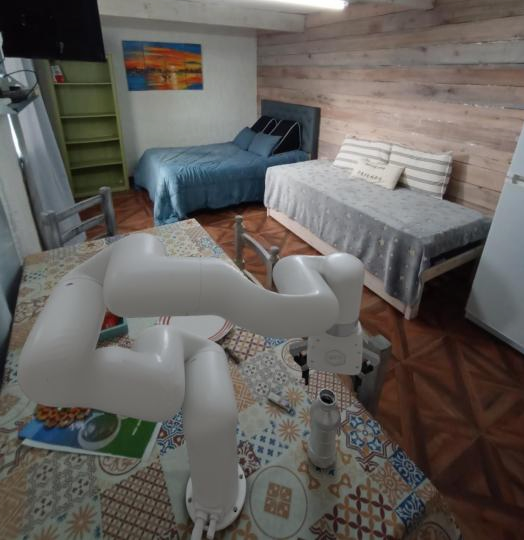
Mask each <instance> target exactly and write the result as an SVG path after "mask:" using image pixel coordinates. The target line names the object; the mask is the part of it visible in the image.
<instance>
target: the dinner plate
mask: <svg viewBox="0 0 524 540" xmlns="http://www.w3.org/2000/svg"><path fill="white" fill-rule="evenodd" d="M156 325H171V326H175V327H178V328H181V329H183V330H186V331H188V332H191V333H194V334H196V335H199V336H201V337H204V338H206V339H209V340H211V341H213V342H215V343H217V342H218V341H219V340H221V339H222V338H224V337H225V336H226V335H227V334H228V333H229V332H230V331H231V330H232V328H233V327H234V326H235V325H234V324H232V323H230V322H228V321H227V320H225V319H223V318H221V317H219V316H214V315H203V316H175V317H157V319H156Z"/></svg>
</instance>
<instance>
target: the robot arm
mask: <svg viewBox="0 0 524 540" xmlns="http://www.w3.org/2000/svg"><path fill="white" fill-rule="evenodd" d="M166 249H167V248H166V246H165V244H164V242H163V241H162V240H161V239H160V238H159V237H158V236H156V235H154V234H152V233H147V232H137V233H132V234H129V235H126V236H124V237H121V238H119V239H117V240H116V241H114V242H113V243H111V244H110V245H108V246H106V247H105V248H103V249H102V250H100V251H99V252H97V253H96V254H94V255H92V256H91V257H90V258H88V259H87V260H85V261H83V262H82V263H80V264H79V265H77V266H75V267H74V268H73V269H71V270H69V272H67V273H66V274H64V276H62V277H61V278H60V279H59V280H58V282H57V283H56V284H55V285H54V287H53V288H52V290H51V292H50V294H49V296H48V298H47V299H46V302H45V303H44V305H43V307H42V309H41V311H40V313H39V314H38V316H37V317H36V320H35V322H34V324H33V325H32V328H31V329H30V331H29V333H28V334H27V338H26V340H25V342H24V345H23V347H22V350H21V353H20V356H19V359H18V363H17V368H16V381H17V385H18V387H19V390H20V391H21V392H22V395H24V396H25V397H26V398H27V399H28V400H30V401H31V402H34V403H35V404H38V405H41V406H44V407H49V408H50V407H51V408H61V409H63V408H65V409H66V408H68V409H69V408H87V409H91V410H92V409H93V410H97V411H102V412H105V413H109V414H113V415H117V416H122V417H126V418H131V419H134V420H139V421H143V422H144V421H145V422H149V423H165V422H168V421H170V420H172V419H174V417H176V416H177V415H178V413H180V410H181V423H182V434H183V437H184V440H185V445H186V453H187V460H188V464H189V465H188V466H189V474H190V476H189V478H188V481H187V485H186V489H185V505H186V510H187V513H188V515H189V517H190V519H191V521H192V522H193V524H194V526H193V529H192V530H191V531H192V533H191V535H190V540H202V538H203V532H204V531H206V532H207V533H206V539H207V540H214V537H215V533H216V532H219V531H221V530H224V529H226V528H228V527H229V526H230V525H231V524H232V523H234V521H236V519H237V518H238V517H239V515H240V513H241V511H242V509H243V507H244V505H245V501H246V497H247V496H246V495H247V479H246V475H245V472H244V470H243V468H242V466H241V465H240V463H239V456H238V455H239V454H238V434H237V433H238V432H237V431H238V430H237V429H238V423H239V410H238V404H237V403H238V402H237V398H236V392H235V389H234V385H233V379H232V376H231V371H230V366H229V361H228V358H227V354H226V351H225V349H224V348H223V347H222V346H221V345H220V344H219V343H217V342H213V341H211V340H209V339H206V338H204V337H201V336H199V335H196V334H194V333H191V332H188V331H186V330H183V329H181V328H178V327H175V326H171V325H157V324H156V325H152V326H149V327H147V328H145V329H143V330H142V331H140V333H139V334H138V335H136V337H135V338H134V340H133V342H132V345H131V348H130V349H128V348H126V347H123V346H115V345H111V346H105V347H103V346H102V347H100V348H97V345H98V342H99V338H100V334H101V331H102V328H103V324H104V320H105V316H106V312H107V310H108V311H109V312H110V313H111V314H113V315H114V316H117V317H120V318H126V319H140V318H141V319H144V318H158V317H175V316H203V315H214V316H219V317H221V318H223V319H225V320H227V321H228V322H230V323H232V324H234V325H233V326H236V327H238V328H240V329H242V330H245V331H247V332H251V333H252V334H255V335H258V336H261V337H265V338H269V339H275V340H283V339H284V340H287V339H288V340H289V339H302V338H307V339H306V340H302V341H297V342H294V343H290V344H289V345H288V352H289V354H290V356H291V357H292V358H293V362H294V363H296V364H297V365H298V366H299V367H300V370H301V379H303V380H304V386H306V387H307V386H309V385H310V383H309V382H310V381H309V380H310V369H311V370H312V371H317V372H321V373H331V374H335V375H336V374H338V375H345V376H351V381H352V389H353V392H354V393H355V394H358V391H359V387H362V384H363V383H362V382H363V379H365V378H366V375H367V374H369V373H371V372H373V371H374V370H375V368H377V367H378V365H379V364H380V363H381V359H380V355H379V354H377V353H376V352H373V351H371V350H370V349H368V348H366V347H364V335H363V329H362V328H363V327H362V325H361V322H360V320H359V319H360V311H361V304H362V298H363V290H364V284H365V277H366V269H365V265H364V263H363V262H362V261H361V260H360V259H359V258H358V257H357V256H355V255H353V254H350V253H348V252H344V251H343V252H342V251H340V252H339V251H335V252H331V253H329V254H326V255H310V254H309V255H308V254H292V255H287V256H284V257H282V258H280V259H279V260H277V262H276V263H275V264H274V266H273V269H272V274H271V275H272V280H273V283H274V285H275V287H276V290H277V292H275V291H271V290H269V289H266V288H263V287H261V286H260V285H258V284H256V283H254V282H253V281H251V280H250V279H248V278H247V277H246V276H245V275H244V274H242V273H241V272H240V271H239V270H238V269H237V268H236V267H234V266H233V265H231V263H229V262H228V261H226V260H225V259H223V258H220V257H217V256H175V255H167V250H166ZM302 352H305V353H303V354H302ZM363 359H364V360H365V361H363ZM235 511H236V512H235Z"/></svg>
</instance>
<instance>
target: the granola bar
mask: <svg viewBox="0 0 524 540" xmlns="http://www.w3.org/2000/svg"><path fill="white" fill-rule="evenodd" d="M267 400H270V401H272V402H273V403H275V404H276V405H278V406H280V407H282V408H283V409H285V410H287V412H290V410H291V408H292V406H293V402H292V403H291V402H290V401H288V400H287V399H285V398H283V397H282V396H280V395H278V394H276V393H275V392H273V391H271V390H270V392H269V394H268V395H267Z"/></svg>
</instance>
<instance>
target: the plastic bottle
mask: <svg viewBox="0 0 524 540" xmlns="http://www.w3.org/2000/svg"><path fill="white" fill-rule="evenodd" d="M317 394H318V395H317V397H316V398H315V399H314V400H313V401H312V402H311V405H310V406H309V419H310V434H309V437H308V439H307V443H306V451H307V456H308V458H309V461H310V462H311V463H312V464H313V465H314V466H316V467H318V468H319V469H328V468H330V467H332V466H333V464H334V463H335V461H336V459H337V455H338V454H337V453H338V452H337V451H338V450H337V444H336V442H337V441H336V439H337V433H338V429H339V426H340V423H341V420H342V415H341V411H340V408H339V406H338V404H337V395H336V393H335V392H334V390H331V389H330V388H321V389H320V390H319V392H318V393H317Z"/></svg>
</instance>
